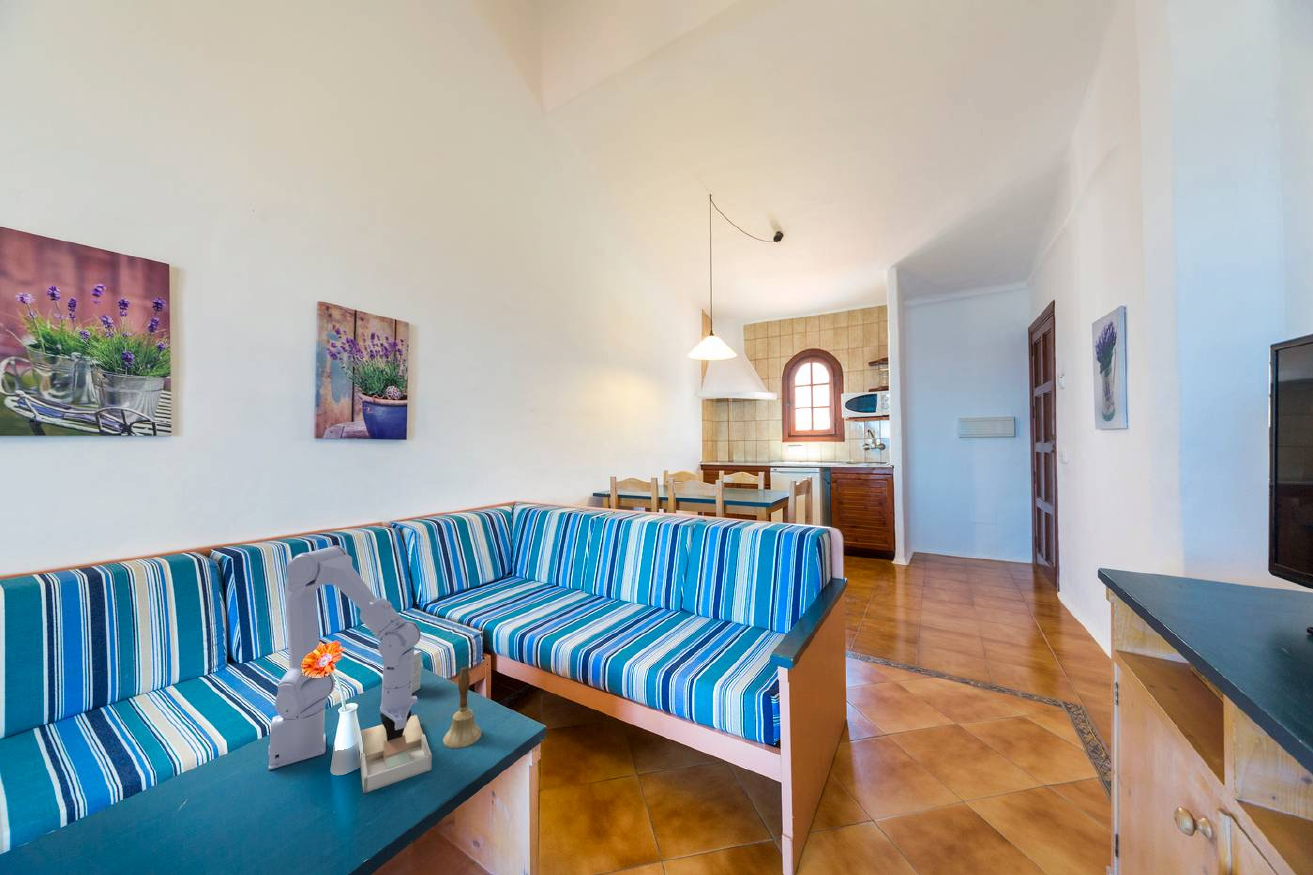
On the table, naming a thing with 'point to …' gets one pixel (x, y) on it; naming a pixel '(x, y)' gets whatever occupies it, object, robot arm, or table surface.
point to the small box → (416, 670)
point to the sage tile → (396, 760)
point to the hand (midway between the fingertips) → (394, 746)
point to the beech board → (377, 736)
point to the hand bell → (463, 719)
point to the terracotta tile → (394, 747)
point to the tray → (395, 768)
